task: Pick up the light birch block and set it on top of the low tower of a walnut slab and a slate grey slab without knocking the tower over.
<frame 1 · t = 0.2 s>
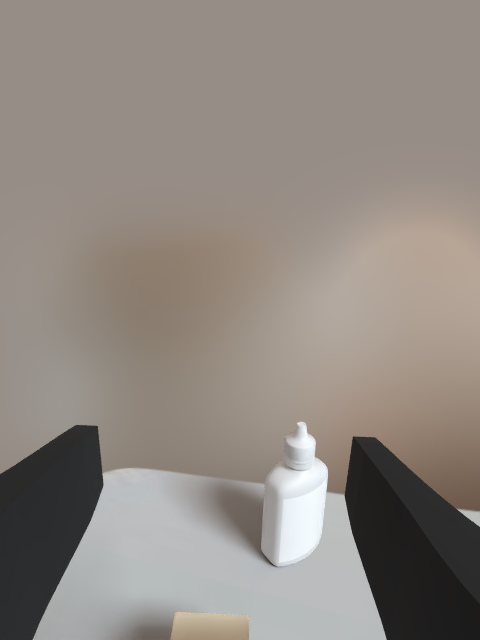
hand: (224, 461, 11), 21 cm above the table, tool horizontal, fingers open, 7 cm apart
eye dropper bottle: (291, 547, 34), on the table
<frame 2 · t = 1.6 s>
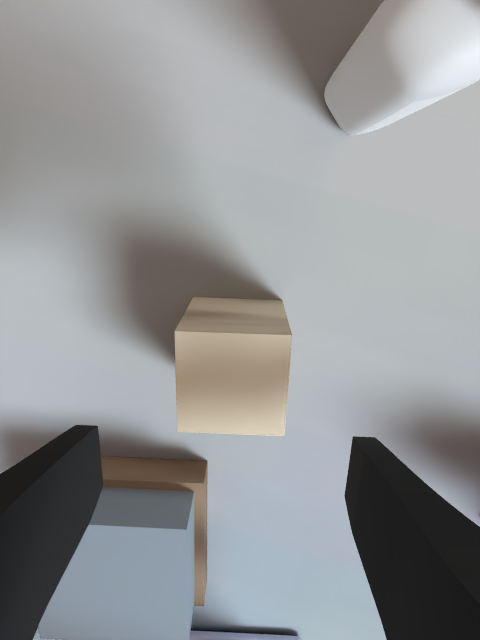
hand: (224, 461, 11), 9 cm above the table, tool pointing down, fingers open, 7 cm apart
walnut base block: (136, 510, 24), on the table, touching slate top block
slate top block: (124, 545, 22), point 2 cm above the table, touching walnut base block
eye dropper bottle: (387, 75, 16), on the table
birch block: (236, 339, 20), on the table
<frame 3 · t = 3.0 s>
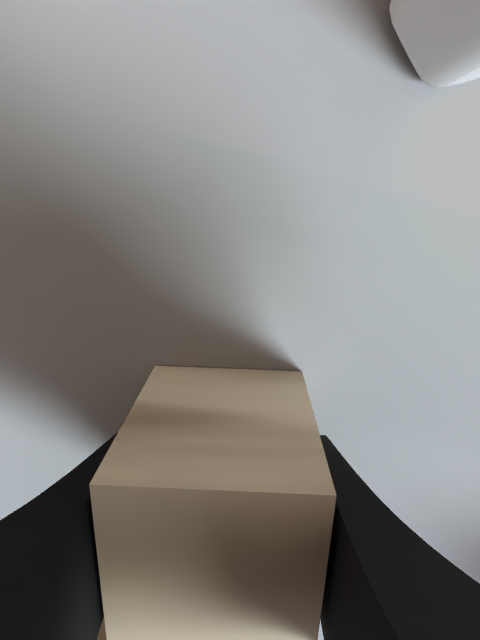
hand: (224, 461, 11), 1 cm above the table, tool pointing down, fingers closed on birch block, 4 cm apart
birch block: (226, 431, 12), on the table, touching gripper
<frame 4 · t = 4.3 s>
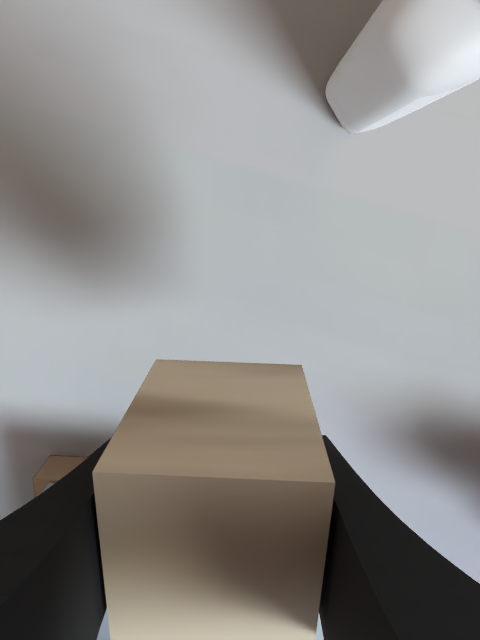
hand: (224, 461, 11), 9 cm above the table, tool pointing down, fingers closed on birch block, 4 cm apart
walnut base block: (135, 513, 24), on the table, touching slate top block
eye dropper bottle: (390, 72, 16), on the table
birch block: (227, 425, 12), point 8 cm above the table, touching gripper
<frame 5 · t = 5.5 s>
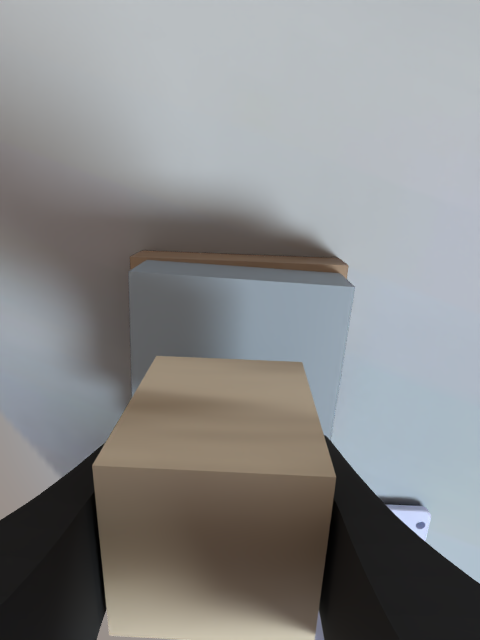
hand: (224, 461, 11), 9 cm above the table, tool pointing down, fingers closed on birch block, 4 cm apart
walnut base block: (237, 341, 20), on the table, touching slate top block
slate top block: (237, 355, 17), point 2 cm above the table, touching walnut base block
birch block: (227, 422, 12), point 7 cm above the table, touching gripper
when the fingers open (7 cm above the table, at t = 6.2 s): birch block drops 1 cm, point 4 cm above the table.
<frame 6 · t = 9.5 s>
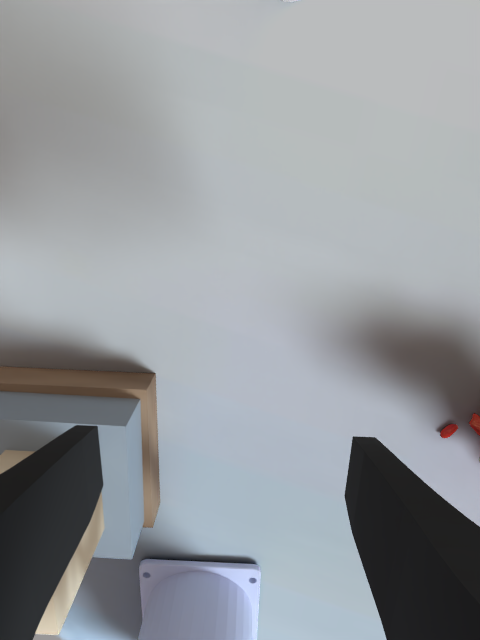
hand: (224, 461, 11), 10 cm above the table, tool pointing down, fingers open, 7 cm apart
walnut base block: (86, 432, 24), on the table, touching slate top block
slate top block: (69, 459, 21), point 2 cm above the table, touching walnut base block
birch block: (56, 490, 19), point 4 cm above the table
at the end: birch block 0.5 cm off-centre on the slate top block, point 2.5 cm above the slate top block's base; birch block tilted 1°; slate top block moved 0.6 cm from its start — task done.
